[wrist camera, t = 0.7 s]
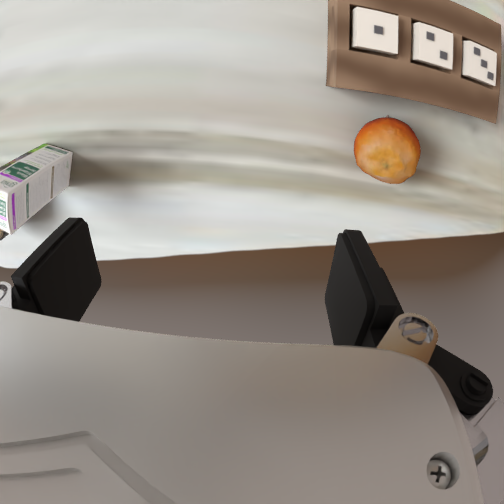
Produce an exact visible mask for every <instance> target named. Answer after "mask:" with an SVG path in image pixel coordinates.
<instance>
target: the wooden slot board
mask: <svg viewBox="0 0 504 504" xmlns="http://www.w3.org/2000/svg"><path fill="white" fill-rule="evenodd" d="M356 7H361V8H366V9H371V10H376V11H380V12H384V13H388V14H392V15H396V16H398V54H394V55H389V54H384V53H380V52H374V51H369V50H364V49H358V48H352V47H351V36H352V10H353V9H354V8H356ZM417 22H421V23H424V24H427V25H430V26H433V27H436V28H439V29H442V30H444V31H447V32H450V33H452V34H453V64H452V70H450V69H442V68H439V67H435V66H432V65H429V64H425V63H421V62H418V61H414V60H411V24H413V23H417ZM462 41H472V42H474V43H477V44H479V45H481V46H483V47H485V48H488V49H490V50H492V51H494V52H496V53H497V63H496V83H495V86H492V85H487V84H484V83H481V82H479V81H476V80H474V79H471V78H468V77H465V76H463V75H461V65H462ZM500 77H501V25H500V24H498V23H496V22H494V21H493V20H491V19H489V18H487V17H485V16H483V15H481V14H479V13H477V12H475V11H473V10H470V9H468V8H466V7H464V6H462V5H459V4H457V3H455V2H452V1H450V0H328V51H327V79H326V86H331V87H338V88H346V89H354V90H361V91H367V92H374V93H379V94H385V95H391V96H396V97H401V98H406V99H410V100H415V101H419V102H424V103H428V104H432V105H436V106H440V107H444V108H447V109H451V110H454V111H458V112H461V113H465V114H468V115H471V116H474V117H477V118H480V119H483V120H486V121H489V122H492V123H495V124H496V119H497V111H498V102H499V91H500Z"/></svg>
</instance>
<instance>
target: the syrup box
mask: <svg viewBox="0 0 504 504" xmlns="http://www.w3.org/2000/svg"><path fill="white" fill-rule="evenodd" d="M72 155H73V152H71V151H67V150H64V149H61V148H58V147H55V146H51V145H48V144H42V145H41V146H39V147H37V148H35V149H33V150H31V151H29V152H27V153H25V154H23V155H21V156H20V157H18V158H16V159H14V160H12V161H11V162H9V163H7V164H5V165H4V166H2V167H0V229H1V230H3V231H5V232H7V233H9V234H11V235H12V234H13V233H14V232H15V231H16V230H17V229H19V228H20V227H21V226H22V225H23V224H24V223H25V222H26V221H27V220H29V219H30V218H31V217H32V216H33V215H34V214H36V213H37V212H38V211H39V210H40V209H41V208H43V207H44V206H45V205H46V204H47V203H49V202H50V201H51V200H52V199H53V198H55V197H56V196H57V195H58V194H60V193H61V192H62V191H64V190H65V189H66V188H67V187H68V186H69V179H70V171H71V163H72Z"/></svg>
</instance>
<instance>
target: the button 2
mask: <svg viewBox="0 0 504 504" xmlns="http://www.w3.org/2000/svg"><path fill="white" fill-rule="evenodd" d="M411 60H414V61H418V62H421V63H425V64H429V65H432V66H435V67H439V68H442V69H450V70H452V64H453V34H452V33H450V32H447V31H444V30H442V29H439V28H436V27H433V26H430V25H427V24H424V23H421V22H417V23H413V24H411Z"/></svg>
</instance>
